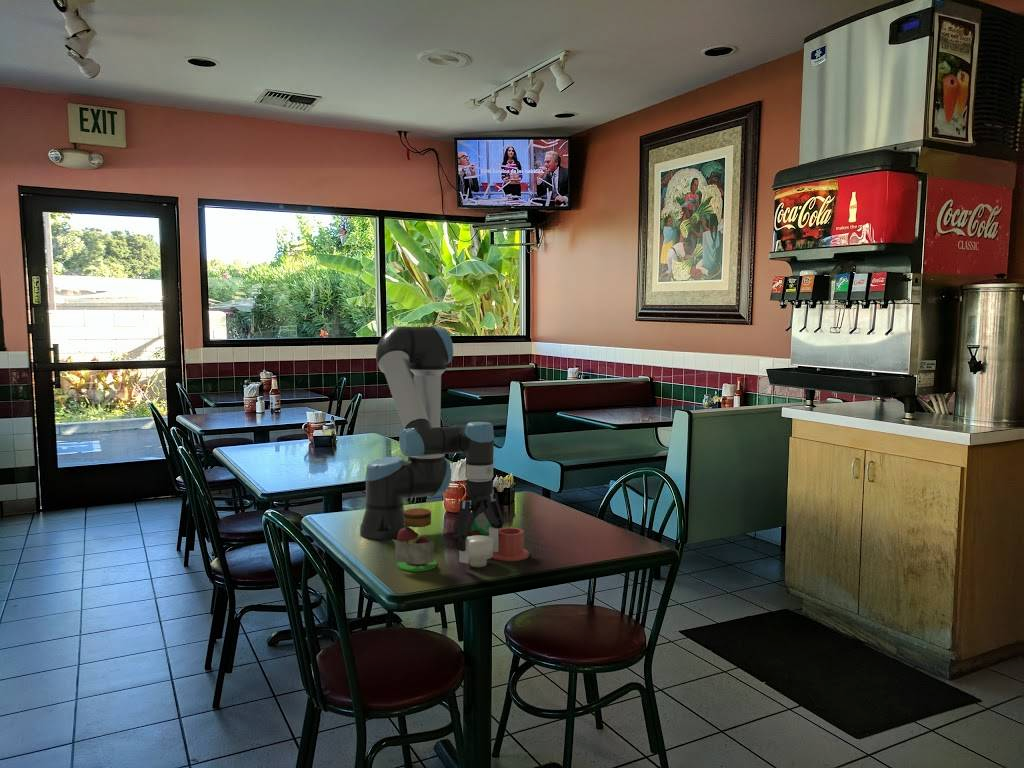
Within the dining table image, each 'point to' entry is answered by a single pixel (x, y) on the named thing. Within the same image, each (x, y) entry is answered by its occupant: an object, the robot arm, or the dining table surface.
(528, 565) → the dining table surface
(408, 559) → the translucent plastic tub
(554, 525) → the dining table surface
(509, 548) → the red flanged cylinder
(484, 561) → the grey rounded piece
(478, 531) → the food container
